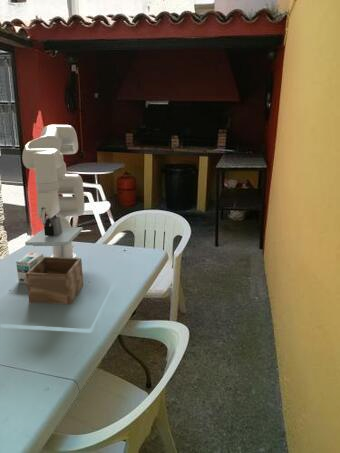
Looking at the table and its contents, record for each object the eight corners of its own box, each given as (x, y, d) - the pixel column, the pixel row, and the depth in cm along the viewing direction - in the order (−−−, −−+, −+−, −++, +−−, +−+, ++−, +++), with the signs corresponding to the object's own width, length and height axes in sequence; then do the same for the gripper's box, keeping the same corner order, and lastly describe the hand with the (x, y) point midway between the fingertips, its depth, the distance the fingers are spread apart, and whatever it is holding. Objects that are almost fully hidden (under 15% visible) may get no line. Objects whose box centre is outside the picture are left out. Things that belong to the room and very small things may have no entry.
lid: (45, 232, 142) (41, 212, 139) (83, 232, 140) (80, 211, 138) (26, 248, 127) (21, 225, 124) (68, 247, 125) (64, 224, 123)
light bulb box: (32, 286, 148) (29, 262, 144) (18, 284, 149) (15, 261, 145) (46, 275, 158) (43, 253, 154) (32, 273, 159) (29, 251, 155)
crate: (46, 284, 149) (43, 256, 145) (83, 286, 148) (81, 258, 144) (29, 304, 134) (25, 273, 130) (70, 306, 133) (67, 275, 129)
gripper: (46, 181, 135) (51, 225, 141) (26, 191, 119) (32, 241, 125) (65, 181, 135) (69, 226, 141) (48, 192, 119) (53, 241, 125)
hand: (51, 232), depth 133 cm, fingers closed on lid, 4 cm apart
